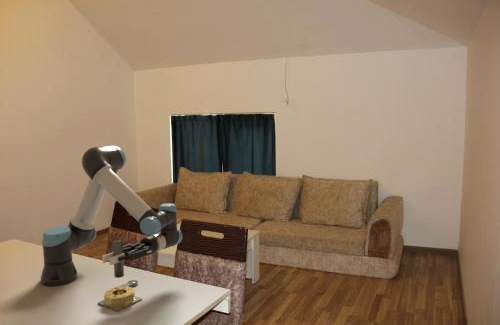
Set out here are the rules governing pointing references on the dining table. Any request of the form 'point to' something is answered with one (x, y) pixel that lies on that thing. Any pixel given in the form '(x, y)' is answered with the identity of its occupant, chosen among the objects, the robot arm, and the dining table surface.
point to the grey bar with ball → (130, 283)
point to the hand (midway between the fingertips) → (106, 260)
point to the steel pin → (118, 266)
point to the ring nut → (119, 298)
